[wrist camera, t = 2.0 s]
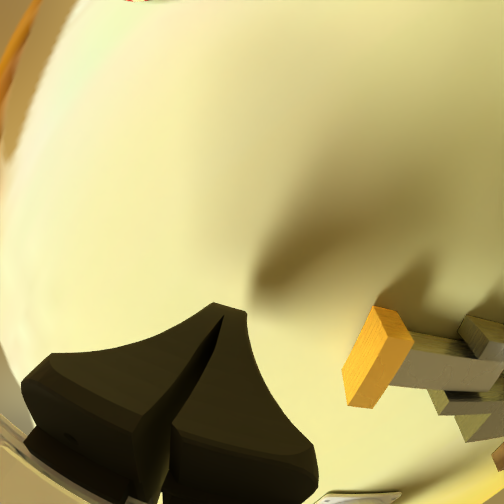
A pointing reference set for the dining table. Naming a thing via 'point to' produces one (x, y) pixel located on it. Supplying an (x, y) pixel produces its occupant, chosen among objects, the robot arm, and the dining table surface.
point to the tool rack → (499, 458)
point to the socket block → (477, 403)
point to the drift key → (410, 362)
